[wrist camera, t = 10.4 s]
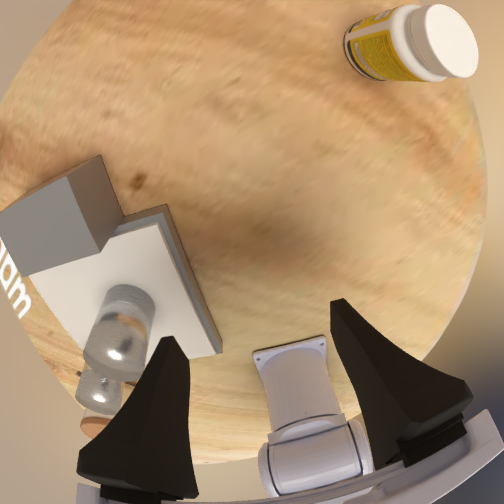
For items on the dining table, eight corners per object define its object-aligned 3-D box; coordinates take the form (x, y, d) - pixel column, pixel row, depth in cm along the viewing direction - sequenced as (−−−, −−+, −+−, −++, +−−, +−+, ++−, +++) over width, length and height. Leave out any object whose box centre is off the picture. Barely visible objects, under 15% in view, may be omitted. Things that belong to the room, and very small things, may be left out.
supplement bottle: (392, 90, 15) (477, 102, 8) (336, 66, 14) (413, 57, 7) (402, 38, 13) (485, 31, 6) (348, 11, 12) (421, -21, 5)
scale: (222, 341, 27) (223, 382, 22) (101, 357, 27) (91, 391, 23) (144, 137, 16) (119, 152, 12) (5, 205, 16) (-28, 232, 12)
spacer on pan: (137, 366, 25) (128, 415, 20) (104, 368, 25) (93, 414, 20) (115, 339, 23) (101, 392, 17) (82, 343, 23) (66, 391, 18)
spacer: (164, 319, 22) (155, 379, 16) (121, 327, 22) (105, 382, 17) (141, 279, 19) (122, 340, 14) (96, 289, 19) (71, 346, 14)
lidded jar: (111, 407, 34) (103, 457, 26) (78, 370, 28) (61, 429, 20) (173, 410, 35) (171, 465, 27) (147, 372, 29) (139, 442, 21)
